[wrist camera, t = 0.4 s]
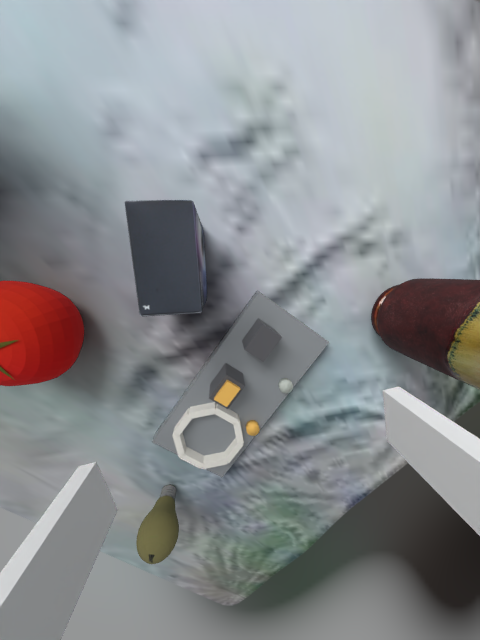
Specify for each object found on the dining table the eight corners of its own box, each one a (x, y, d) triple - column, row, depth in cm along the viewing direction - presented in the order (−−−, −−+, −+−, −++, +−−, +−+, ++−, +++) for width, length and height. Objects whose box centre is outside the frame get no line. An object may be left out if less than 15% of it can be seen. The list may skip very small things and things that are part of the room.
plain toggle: (241, 340, 31) (244, 349, 28) (258, 317, 31) (263, 324, 27) (258, 351, 32) (263, 362, 28) (275, 329, 31) (282, 337, 28)
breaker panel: (155, 432, 36) (148, 449, 32) (257, 290, 32) (261, 292, 29) (222, 466, 38) (222, 486, 35) (323, 338, 35) (334, 345, 31)
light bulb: (147, 479, 38) (122, 552, 28) (178, 468, 38) (163, 537, 28) (161, 503, 39) (140, 581, 29) (190, 493, 39) (180, 567, 29)
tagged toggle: (210, 383, 32) (208, 400, 28) (225, 362, 32) (226, 376, 28) (227, 394, 33) (227, 411, 29) (242, 373, 32) (245, 388, 28)
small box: (210, 301, 32) (204, 315, 22) (164, 303, 32) (137, 319, 21) (204, 223, 30) (195, 198, 20) (155, 224, 29) (119, 199, 19)
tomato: (17, 361, 32) (-81, 404, 21) (8, 275, 29) (-108, 277, 19) (100, 366, 33) (44, 410, 23) (98, 284, 30) (34, 291, 20)
